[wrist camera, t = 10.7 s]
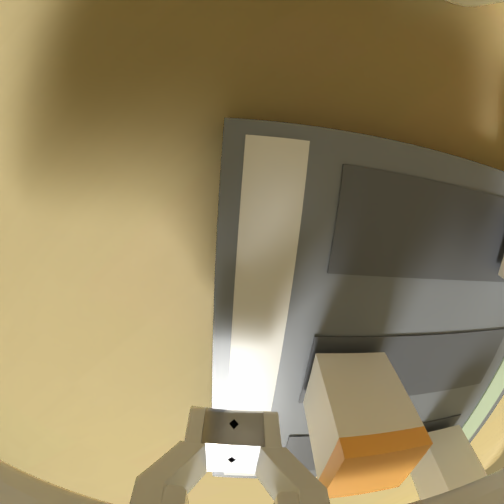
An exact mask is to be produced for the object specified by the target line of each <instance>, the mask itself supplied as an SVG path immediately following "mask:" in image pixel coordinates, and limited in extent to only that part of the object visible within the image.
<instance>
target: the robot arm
mask: <svg viewBox="0 0 504 504" xmlns="http://www.w3.org/2000/svg"><path fill="white" fill-rule="evenodd" d="M207 471H217V472H235V473H251V474H255V475H256V477H257V478H258V480H259V481H260V482H261V484H262V485H263V486H264V488H265V489H266V491H267V492H268V493H269V495H270V496H271V497H272V499H273V500H274V504H330V501H329V496H328V491H327V488H326V487H325V486H324V485H323V484H322V483H321V482H320V481H319V480H318V479H317V478H316V477H315V476H314V475H313V474H312V473H311V472H310V471H309V470H308V469H307V468H306V467H305V466H304V465H303V464H302V463H301V462H300V461H299V460H298V459H297V458H296V457H295V456H294V455H293V454H292V453H291V452H290V451H289V450H288V449H287V448H286V447H282V445H281V435H280V425H279V416H278V412H271V411H263V412H262V411H243V410H224V409H214V408H204V407H196V406H191V409H190V413H189V418H188V424H187V429H186V435H185V441H180V442H178V443H177V444H176V445H175V446H174V447H173V448H171V449H170V450H169V451H168V452H167V453H166V454H164V455H163V456H162V457H161V458H160V459H158V460H157V461H156V462H155V463H154V464H152V465H151V466H150V467H149V468H147V469H146V470H145V471H144V472H142V473H141V474H140V475H139V476H137V477H136V481H135V485H134V488H133V492H132V496H131V500H130V504H189V502H188V496H187V494H188V493H189V492H190V490H191V489H192V488H193V487H194V486H195V485H196V484H197V483H198V482H199V480H200V479H201V478H202V477H203V476H204V475H205V474H206V472H207ZM0 504H112V503H108V502H104V501H101V500H98V499H94V498H91V497H88V496H85V495H82V494H79V493H76V492H73V491H70V490H67V489H64V488H62V487H59V486H56V485H54V484H51V483H49V482H46V481H44V480H42V479H39V478H37V477H35V476H32V475H30V474H28V473H26V472H24V471H21V470H19V469H17V468H15V467H13V466H11V465H9V464H7V463H5V462H3V461H1V460H0ZM409 504H504V468H502V469H500V470H498V471H496V472H494V473H492V474H490V475H487V476H485V477H483V478H481V479H478V480H476V481H473V482H471V483H469V484H466V485H464V486H461V487H458V488H456V489H453V490H450V491H447V492H444V493H442V494H439V495H436V496H433V497H429V498H426V499H423V500H419V501H416V502H412V503H409Z"/></svg>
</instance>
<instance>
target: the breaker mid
mask: <svg viewBox="0 0 504 504" xmlns="http://www.w3.org/2000/svg"><path fill="white" fill-rule="evenodd" d="M303 404H304V410H305V415H306V420H307V426H308V431H309V436H310V442H311V447H312V453H313V458H314V464H315V469H316V475H317V479H318V480H319V481H320V482H321V483H322V484H323V485H324V486H325V487H326V488H327V491H328V496H329V498H337V497H345V496H352V495H359V494H365V493H370V492H376V491H381V490H386V489H391V488H395V487H399V486H400V485H401V483H402V482H403V481H404V480H405V479H406V478H407V476H408V475H409V474H410V473H411V471H412V470H413V469H414V468H415V466H416V465H417V464H418V463H419V461H420V460H421V459H422V458H423V456H424V455H425V454H426V452H427V451H428V450H429V448H430V447H431V445H432V444H433V442H432V440H431V438H430V436H429V434H428V432H427V430H426V428H425V426H424V424H423V422H422V421H421V419H420V417H419V415H418V413H417V411H416V409H415V407H414V405H413V403H412V401H411V399H410V397H409V396H408V394H407V392H406V390H405V388H404V386H403V384H402V383H401V381H400V379H399V377H398V375H397V373H396V372H395V370H394V368H393V366H392V364H391V363H390V361H389V359H388V357H387V355H386V354H385V352H376V353H316V354H315V358H314V362H313V366H312V370H311V374H310V378H309V382H308V386H307V389H306V393H305V397H304V401H303Z"/></svg>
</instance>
